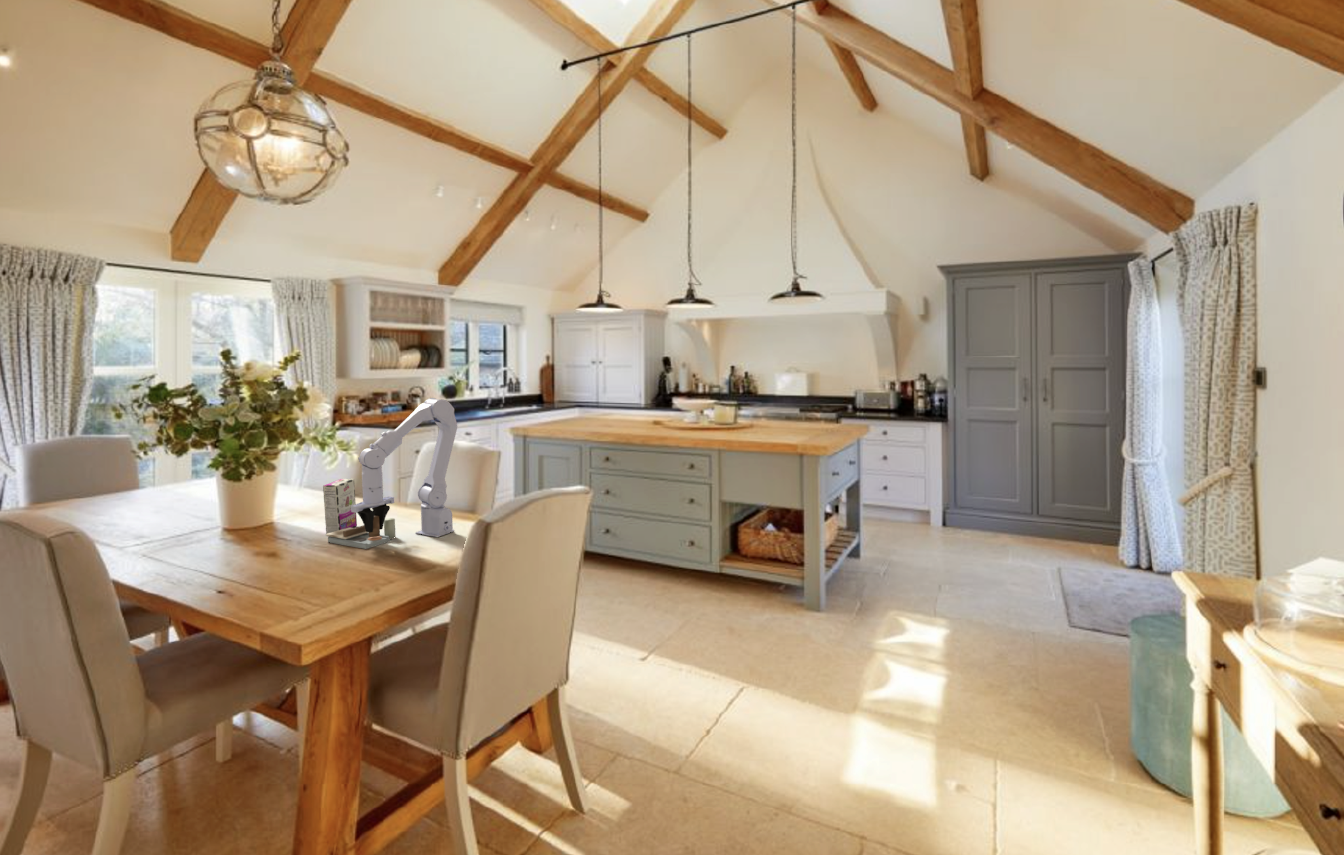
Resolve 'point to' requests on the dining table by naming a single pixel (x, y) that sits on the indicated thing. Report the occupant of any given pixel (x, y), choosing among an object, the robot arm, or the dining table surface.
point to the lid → (348, 532)
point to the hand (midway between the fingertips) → (374, 530)
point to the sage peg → (389, 527)
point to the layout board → (360, 541)
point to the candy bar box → (339, 505)
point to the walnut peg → (375, 527)
